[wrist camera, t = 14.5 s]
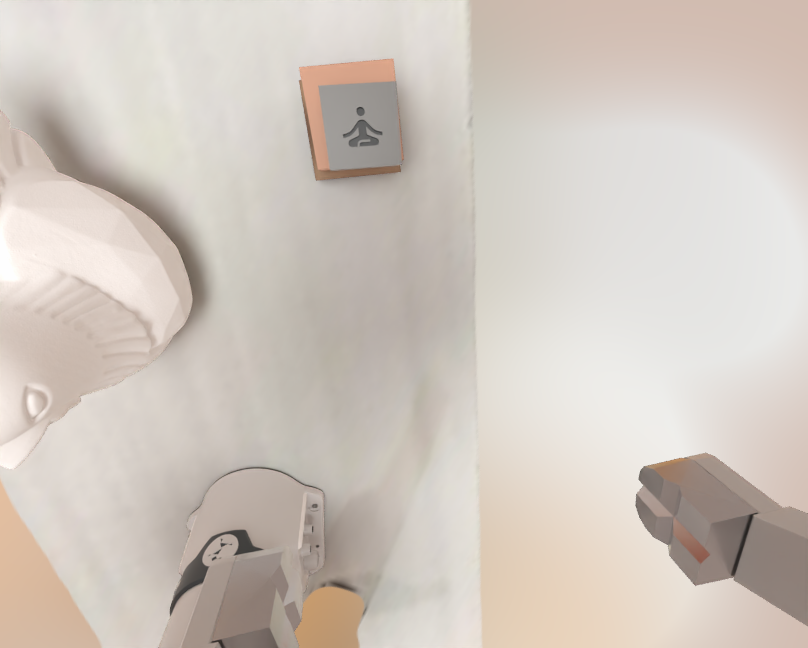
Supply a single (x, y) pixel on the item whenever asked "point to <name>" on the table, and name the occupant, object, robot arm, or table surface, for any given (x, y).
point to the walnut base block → (341, 173)
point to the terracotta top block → (335, 76)
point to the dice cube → (361, 125)
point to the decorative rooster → (74, 292)
